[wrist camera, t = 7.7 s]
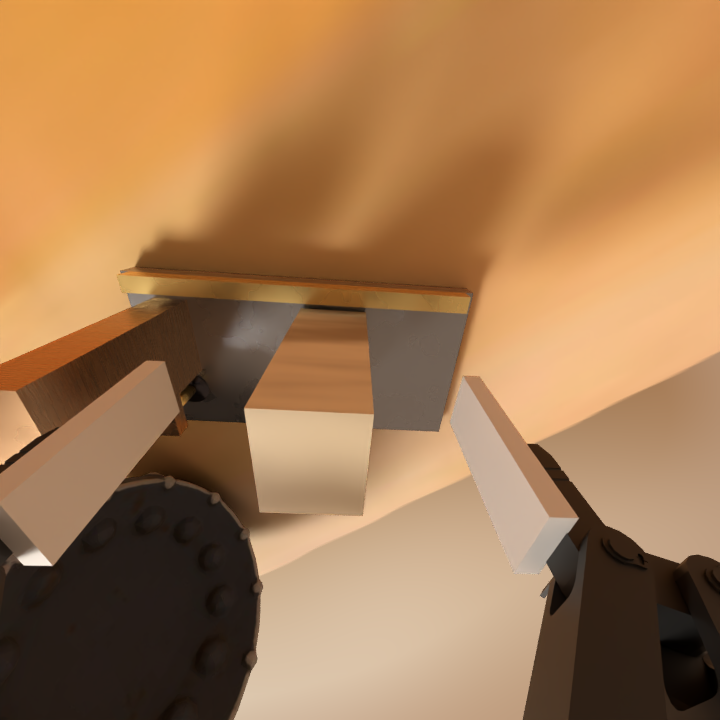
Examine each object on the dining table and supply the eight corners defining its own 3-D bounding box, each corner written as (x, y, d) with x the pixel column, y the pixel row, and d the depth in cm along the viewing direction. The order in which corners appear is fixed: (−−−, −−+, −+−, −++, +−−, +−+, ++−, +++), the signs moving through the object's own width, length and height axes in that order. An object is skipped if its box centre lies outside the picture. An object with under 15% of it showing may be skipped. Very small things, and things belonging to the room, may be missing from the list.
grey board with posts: (134, 267, 18) (-142, 339, 8) (466, 288, 19) (589, 379, 9) (175, 409, 23) (37, 561, 13) (435, 421, 24) (490, 573, 14)
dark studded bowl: (131, 410, 23) (-612, 1075, 5) (295, 533, 31) (211, 973, 13) (57, 465, 26) (-594, 1023, 8) (224, 565, 34) (76, 964, 16)
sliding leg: (300, 308, 18) (244, 408, 9) (365, 312, 18) (373, 414, 9) (304, 412, 21) (265, 556, 13) (357, 414, 22) (357, 559, 13)
